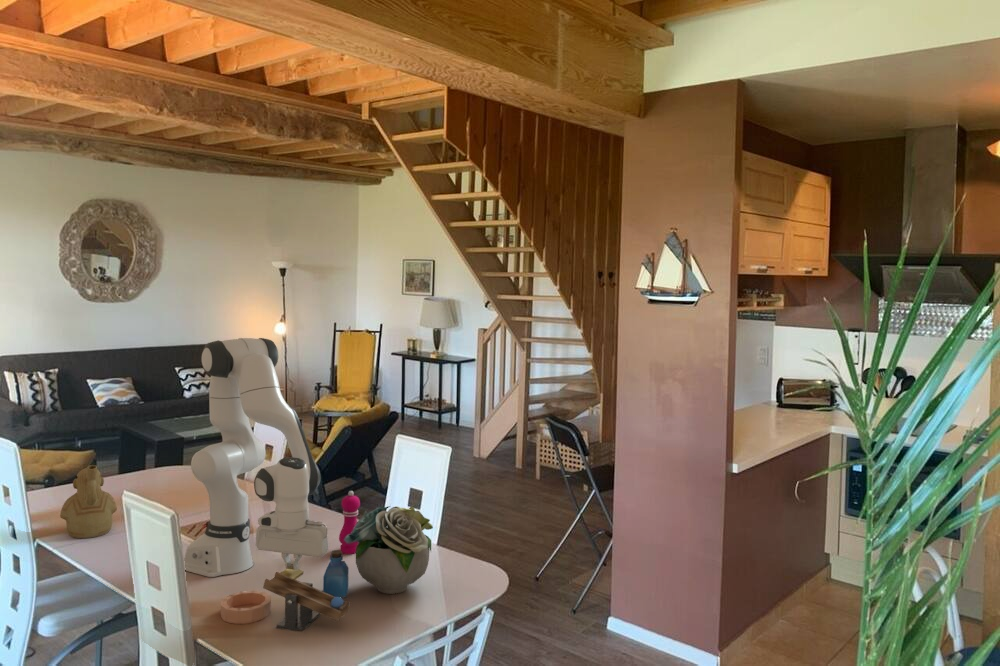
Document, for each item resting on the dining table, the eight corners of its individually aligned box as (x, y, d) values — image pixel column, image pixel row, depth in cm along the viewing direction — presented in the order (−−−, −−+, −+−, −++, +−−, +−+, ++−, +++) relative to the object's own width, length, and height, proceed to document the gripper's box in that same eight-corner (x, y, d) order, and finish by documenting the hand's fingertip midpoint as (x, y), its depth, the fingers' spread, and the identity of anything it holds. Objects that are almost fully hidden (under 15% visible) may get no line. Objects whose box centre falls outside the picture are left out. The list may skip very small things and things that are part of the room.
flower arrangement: (398, 615, 198) (400, 525, 197) (330, 592, 212) (331, 508, 210) (452, 584, 219) (454, 503, 218) (387, 565, 233) (389, 489, 231)
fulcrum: (276, 627, 189) (276, 595, 189) (296, 611, 199) (296, 580, 198) (301, 631, 187) (301, 598, 187) (320, 615, 197) (320, 583, 196)
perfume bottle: (326, 588, 214) (327, 548, 213) (348, 588, 215) (348, 548, 214) (323, 598, 208) (323, 556, 207) (345, 597, 208) (346, 556, 208)
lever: (262, 588, 192) (265, 577, 192) (290, 568, 205) (292, 559, 205) (337, 620, 187) (340, 610, 187) (360, 599, 200) (363, 589, 200)
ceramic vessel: (113, 521, 267) (113, 452, 266) (120, 537, 251) (120, 464, 249) (58, 528, 258) (58, 457, 256) (62, 546, 242) (61, 470, 240)
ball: (327, 609, 189) (329, 598, 189) (333, 604, 192) (335, 593, 192) (338, 613, 188) (341, 602, 188) (344, 608, 191) (346, 597, 191)
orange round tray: (210, 620, 192) (211, 606, 192) (239, 600, 204) (239, 588, 204) (253, 626, 189) (253, 613, 189) (279, 606, 201) (279, 594, 201)
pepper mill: (356, 555, 241) (357, 494, 239) (335, 553, 242) (336, 493, 241) (364, 548, 248) (365, 489, 246) (344, 545, 249) (345, 487, 248)
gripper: (332, 519, 201) (332, 568, 202) (265, 511, 206) (265, 560, 207) (321, 526, 195) (321, 577, 196) (252, 518, 200) (252, 568, 201)
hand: (291, 568), depth 202 cm, fingers closed
